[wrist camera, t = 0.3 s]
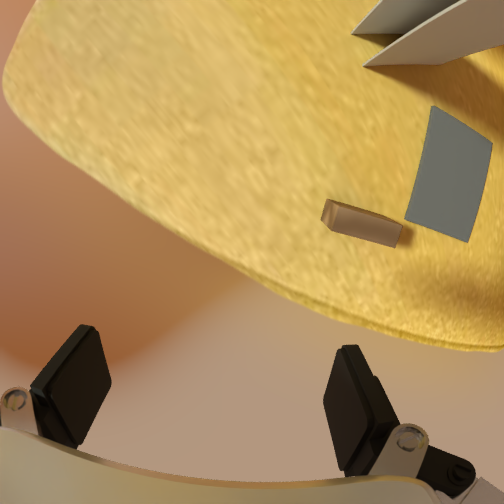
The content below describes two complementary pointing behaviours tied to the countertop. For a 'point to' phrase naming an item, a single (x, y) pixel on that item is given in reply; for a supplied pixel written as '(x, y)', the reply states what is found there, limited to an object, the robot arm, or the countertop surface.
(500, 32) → the thin beige panel
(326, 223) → the brown angular block
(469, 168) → the mat
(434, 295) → the countertop surface
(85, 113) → the countertop surface
